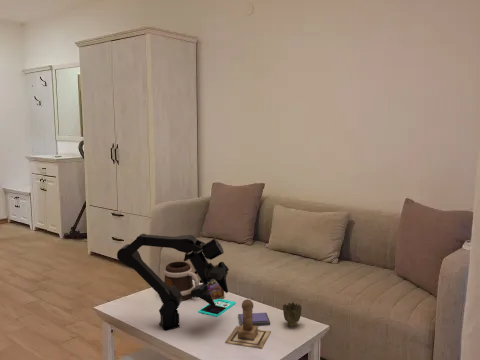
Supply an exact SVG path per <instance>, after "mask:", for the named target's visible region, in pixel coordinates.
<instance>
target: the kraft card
mask: <svg viewBox="0 0 480 360" xmlns="http://www.w3.org/2000/svg"><path fill="white" fill-rule="evenodd" d="M239 328H240V325H236V326H235V328H233V330H232V332H231V333H230V334H229V336H228V337H227V339H226V340H225V342H224V343H225V344H229V345H236V346H242V347H248V348H254V349H262V350H263V348H264V346H265V344H266V342H267V340H268V338H269V337H270V335H271V333H272V330H267V329H261V328H258V334H257V336H256V337H255V339H254V341H250V340H243V339H238V330H239Z"/></svg>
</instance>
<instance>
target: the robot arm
mask: <svg viewBox="0 0 480 360" xmlns="http://www.w3.org/2000/svg"><path fill="white" fill-rule="evenodd" d="M143 246H144V247H157V248H158V247H159V248H167V249H174V250H176V251H178V252H181V253H184V258H183V262H186V261H188V260H189V261H190V263H191V265H192V267H193V268H194V270H195V271H194V272H193V273H195V274H196V275H197V276H198V277H199V285H198V286H196V287H195V286H194V288H193V289H192V290H191V295H192V297H191V298H199V299H200V300H203V301H205V303H207V304H210V305H212V306H215V303H214V299H212V298H211V296H210V290H208V287H207V286H208V285H209V284H210V283H211V282H212V281H213V280H214V279H215V280H216V281H217V283H218V284H219V285H220V287H221V288H222V289H223V290H224V294H228V293H229V290H228V285H227V276H228V274H229V271H230V270H229V267H228V266H227V265H226V263H225V262H224V261H219V263H218V264H215V265H216V266H213V265H214V264H213V263H212V262H208V261H209V260H210V261H212V260H213V259H216V258H217V257H219V256H221V255H224V248H223V245H221V243H220V242H219V241H218V240H217V239H216V238H211V240H209V241H207V242H204V241H201V240H199V239H198V238H197V237H195V235H193V234H184V235H178V236H168V235H154V234H146V233H140V234H139V235H138V236H136V238H135V239H134V240H133V241H131V242H130V243H127V244H125V245H124V246H122V247H121V248H119V249H118V250H117V253H116V258H117V260H118V261H119V262H120V263H121V264H123V265H124V266H126V267H128V268H131V269H132V270H134V271H135V272H136V273H137V274H138V275H139V276H140V277H141V278H142V279H143V280H144V281H145V283H147V284H148V285H149V286H150V287H151V288H152V290H154V291H155V292H156V293H157V294H158V296H159V299H160V301H161V303H162V305H161V306H160V308H159V309H158V312H159V315H160V317H159V318H160V322H159V323H158V324H159V326H160V327H161V328H162V330H164V331H168V330H169V331H170V330H172V329H177V328H180V326H181V325H180V313H179V311H178V309H179V307H180V305H181V303H182V294H181V293H180V292H181V291H180V290H178V289H177V288H176V286H175V285H173V286H172V287H170V286H168V285H166V284H165V283H164V281H163V279H162V278H160V277H159V275H158V274H156V273H155V271H154V270H153V269H152V268H151V267H149V266H148V265H147V264H146V262H144V261H143V259H142V257H141V256H142V255H141V254H140V251H138V250H139V249H140V248H141V247H143ZM207 282H208V283H207Z"/></svg>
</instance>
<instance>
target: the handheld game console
mask: <svg viewBox="0 0 480 360" xmlns="http://www.w3.org/2000/svg"><path fill="white" fill-rule="evenodd" d="M213 301H214V303H215V306H212V305H210V304H209V303H207V304H206V305H205V306H203V307H202V308H200V309H199V310H197V313H198V314H202V315H206V316H210V317H215V318H218V317H220V316H222V314H223V313H225V312H226V311H228V310H229V309H230V308H232V307H233V306H235V305H236V304H237V302H236V301H233V300H229V299H225V298H219V299H213Z"/></svg>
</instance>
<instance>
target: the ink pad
mask: <svg viewBox="0 0 480 360" xmlns="http://www.w3.org/2000/svg"><path fill="white" fill-rule="evenodd" d="M237 318H238V323H239V327H241V325H242V324H243V313H238V314H237ZM252 319H253V325H254V326H258V327H260V326H263V327H264V326H271V320H270V318H269V315H268V313H267V312H252Z"/></svg>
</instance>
